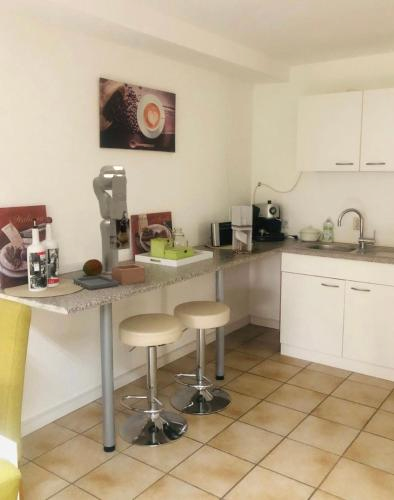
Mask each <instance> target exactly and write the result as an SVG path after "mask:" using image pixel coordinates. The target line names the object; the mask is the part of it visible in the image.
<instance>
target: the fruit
mask: <svg viewBox="0 0 394 500" xmlns="http://www.w3.org/2000/svg"><path fill="white" fill-rule="evenodd" d="M102 270H103V266H102V261H100V260H99V259H96V258H95V259H88V260H86V261H85V262H84V264H83V266H82V271H83V272H84V274H85V275H87V277H91V276H99V275H101V274H102V273H101V272H102Z"/></svg>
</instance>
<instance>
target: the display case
mask: <svg viewBox="0 0 394 500" xmlns="http://www.w3.org/2000/svg"><path fill="white" fill-rule="evenodd" d="M231 229H232V244H231V245H232V249H231V250H233V251H237V252H248V251H251V252H252V245H253V244H252V240H253V239H252V238H253V235H252V234H253V206H251V205H250V206H249V205H232V206H231ZM231 250H230V251H231Z"/></svg>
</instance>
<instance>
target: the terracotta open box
mask: <svg viewBox="0 0 394 500" xmlns="http://www.w3.org/2000/svg"><path fill="white" fill-rule="evenodd" d="M111 270H112V274H111V279H113V280H115V281H118V282H119V285H122V286H124V285H125V286H126V285H130V284H139V283H145V282H146V267H145V266H143V265H139V264H136V263H133V264H124V265H118V266H114V267H111Z"/></svg>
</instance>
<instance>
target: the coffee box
mask: <svg viewBox="0 0 394 500" xmlns="http://www.w3.org/2000/svg"><path fill="white" fill-rule="evenodd" d="M130 223H131V220H130V218H129V219H128V222H127V225H126V232H125V233H121V220H118V219H110V249H114V250H118V251H120V250H127V249H129V250H130V249H131V240H130V239H131V224H130Z"/></svg>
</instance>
